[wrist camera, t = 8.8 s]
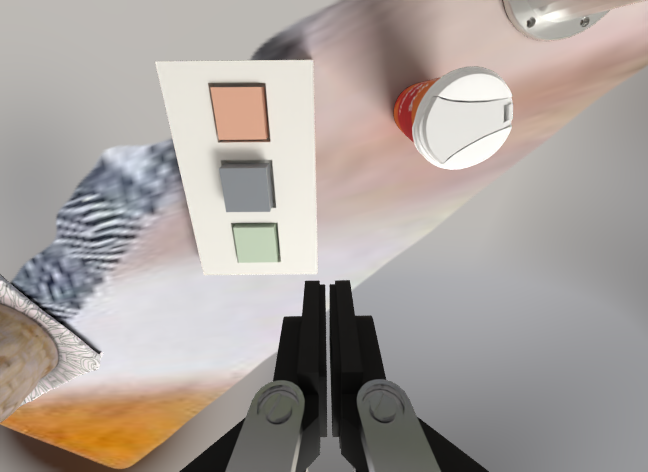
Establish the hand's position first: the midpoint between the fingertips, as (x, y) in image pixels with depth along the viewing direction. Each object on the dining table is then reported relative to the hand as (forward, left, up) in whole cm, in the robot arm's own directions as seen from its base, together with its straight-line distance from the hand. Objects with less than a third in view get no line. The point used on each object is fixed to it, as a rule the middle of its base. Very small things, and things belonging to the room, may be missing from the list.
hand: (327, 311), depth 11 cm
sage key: (+9, +11, -28) cm, 31 cm away
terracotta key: (+9, -5, -28) cm, 30 cm away
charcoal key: (+9, +3, -26) cm, 28 cm away
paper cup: (-11, -5, -29) cm, 32 cm away
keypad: (+9, +3, -29) cm, 31 cm away
